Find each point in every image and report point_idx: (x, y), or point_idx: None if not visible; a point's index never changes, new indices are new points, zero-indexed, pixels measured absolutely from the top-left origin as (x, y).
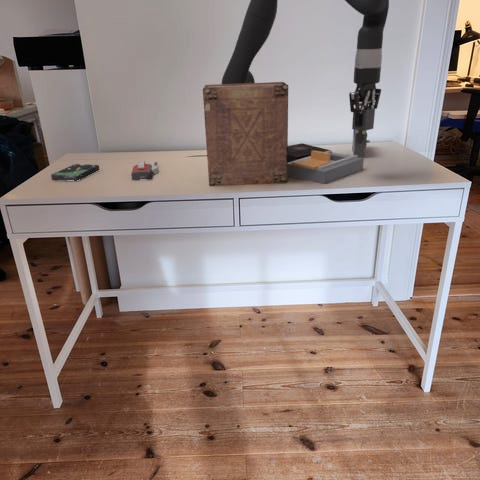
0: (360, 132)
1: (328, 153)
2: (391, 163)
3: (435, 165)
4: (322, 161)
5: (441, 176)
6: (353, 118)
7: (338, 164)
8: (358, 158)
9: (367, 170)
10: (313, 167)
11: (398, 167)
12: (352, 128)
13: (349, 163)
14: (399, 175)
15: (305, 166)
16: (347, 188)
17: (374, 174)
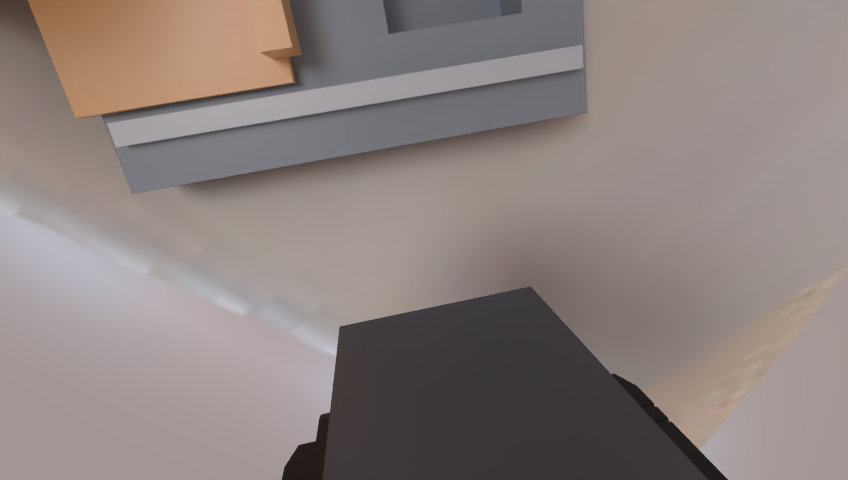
0: None
1: (273, 38)
2: (760, 126)
3: (831, 287)
4: (237, 27)
5: (682, 403)
6: (333, 436)
7: (335, 121)
8: (557, 94)
9: (558, 141)
10: (75, 110)
11: (708, 205)
12: (341, 335)
13: (421, 141)
14: (586, 301)
15: (44, 25)
16: (234, 307)
17: (520, 219)
